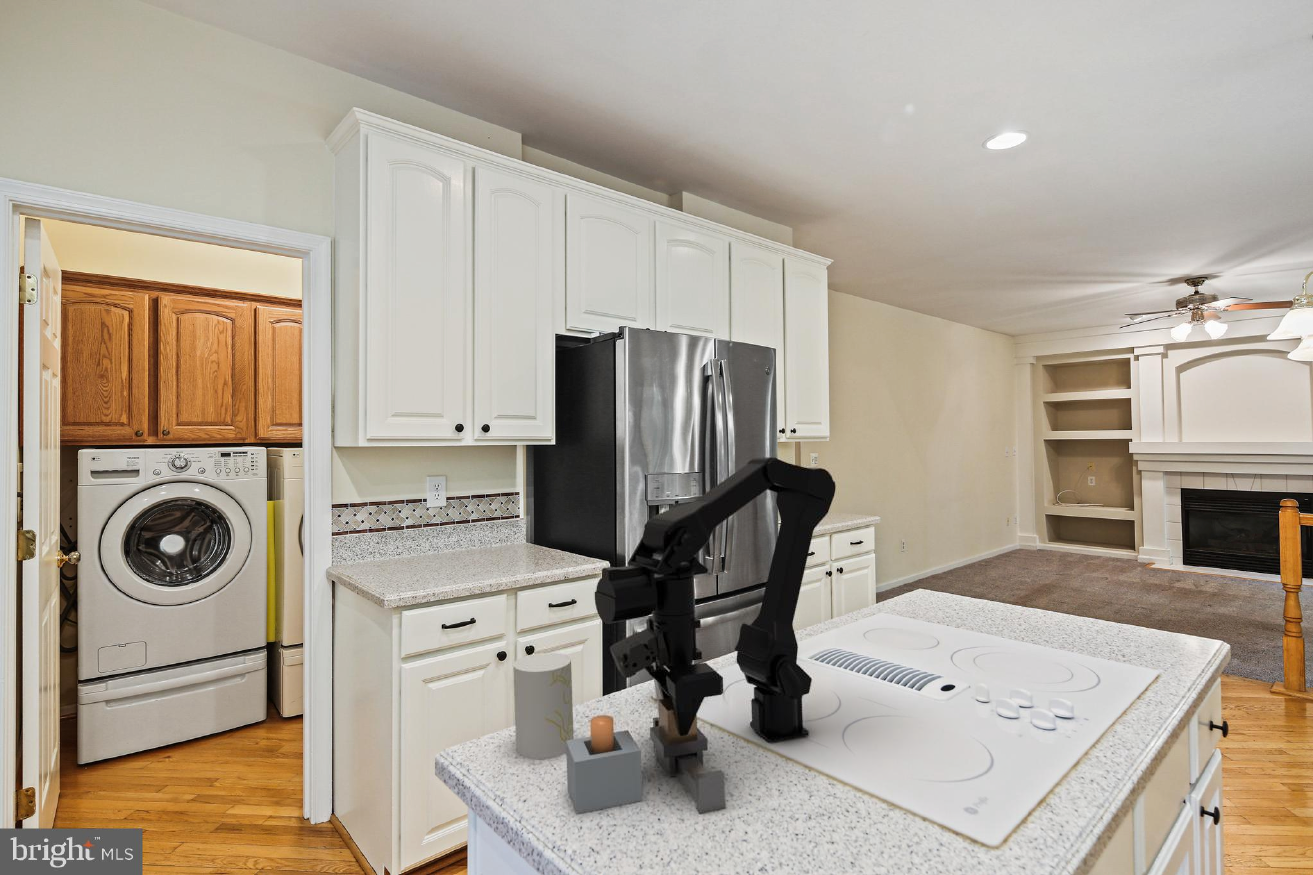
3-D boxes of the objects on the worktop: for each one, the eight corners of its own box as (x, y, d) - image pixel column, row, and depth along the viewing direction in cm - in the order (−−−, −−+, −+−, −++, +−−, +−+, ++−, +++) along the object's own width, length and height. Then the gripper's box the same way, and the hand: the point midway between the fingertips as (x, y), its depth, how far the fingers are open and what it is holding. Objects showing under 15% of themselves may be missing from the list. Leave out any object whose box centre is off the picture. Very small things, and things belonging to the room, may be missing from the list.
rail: (675, 742, 94) (674, 714, 94) (725, 808, 77) (724, 773, 77) (653, 746, 93) (652, 718, 93) (699, 813, 76) (698, 778, 76)
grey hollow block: (629, 776, 85) (627, 730, 85) (642, 800, 79) (640, 750, 79) (567, 788, 82) (565, 740, 83) (576, 813, 77) (574, 762, 77)
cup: (562, 761, 90) (559, 672, 90) (506, 757, 91) (503, 670, 92) (581, 734, 98) (578, 653, 98) (529, 731, 99) (526, 651, 99)
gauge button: (611, 742, 83) (610, 713, 83) (616, 752, 80) (615, 722, 80) (589, 746, 82) (588, 717, 82) (593, 756, 79) (592, 726, 79)
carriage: (692, 748, 91) (690, 691, 92) (708, 768, 86) (706, 707, 86) (650, 756, 90) (648, 697, 90) (664, 777, 84) (662, 714, 84)
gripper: (599, 601, 94) (603, 711, 94) (633, 636, 77) (638, 772, 76) (673, 593, 98) (676, 699, 98) (722, 625, 80) (727, 755, 80)
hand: (677, 728), depth 88 cm, fingers closed on carriage, 4 cm apart
